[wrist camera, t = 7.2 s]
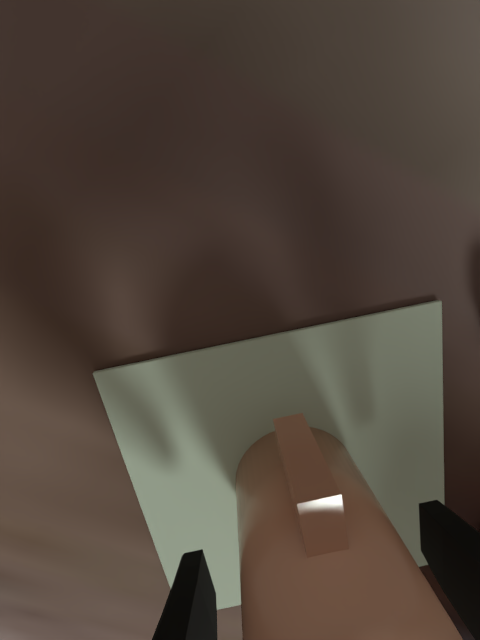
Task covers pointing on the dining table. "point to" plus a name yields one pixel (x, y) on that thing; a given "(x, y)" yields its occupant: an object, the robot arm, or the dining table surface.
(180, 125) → the dining table surface
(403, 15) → the dining table surface
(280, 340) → the felt mat
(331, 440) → the terracotta jug
